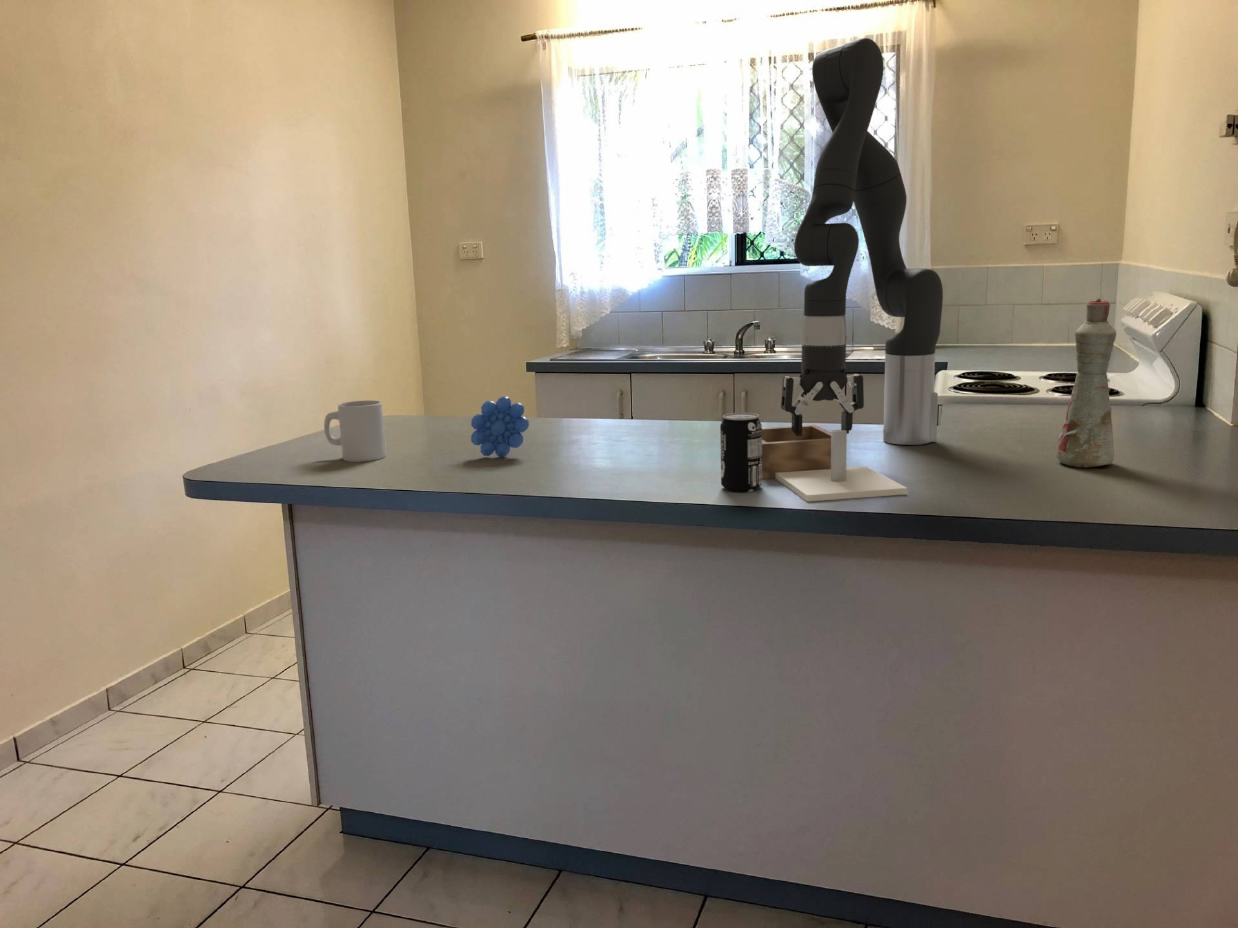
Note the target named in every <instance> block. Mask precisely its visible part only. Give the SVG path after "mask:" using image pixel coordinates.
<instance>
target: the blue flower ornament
mask: <svg viewBox="0 0 1238 928" xmlns="http://www.w3.org/2000/svg"><path fill="white" fill-rule="evenodd" d="M480 410H481V411H480V413H477V414H475V415H474V416H473V417H472V418H471V420H470V422H471V423H470V424H471V427H472V429H474V431H473V432H472V433H471V436H470V441H471V443H472V444H473V445H474V446H480V453H481V454H482V455H483V456H485V457H491V455H493V454H494V453H495V454H496V456H497V457H499V458H504V457H507V456H508V455H509V453H510V451H511V449H512V448H513V449H517V448H519V447H521V446H522V444H523V443H524V435H523V433H524V432H526V431H527V430H528V429H529V424H530V422H529V420H528V418H527V417H525V416H523V414H525V407H524V405H523V404H522V403H521V402H514V403H512V400H511V399H510V397H509V396H505V395H503V396H500V397H499V398H498V399H497V401H496V403H495V402H494V401H493V400H486V401H485V402H484V403H483V404H482V405H481V407H480Z"/></svg>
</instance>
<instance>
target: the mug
mask: <svg viewBox="0 0 1238 928" xmlns="http://www.w3.org/2000/svg"><path fill="white" fill-rule="evenodd" d="M337 406H338V407H337V410H336V411H331V412H329V413H327V414H326V415H325V418H324V422H323V423H324V424H323V426H324V427H323V428H324V429H323V430H324V435H325V438H326V440H327V442H328V443H329V444H330V445H333V446H337V447H338V446H341V453H342V454H341V455H342V459H343V461H345V462H351V463H360V462H361V463H363V462H372V461H377V460H381V459H384V458H385V457H387V448H386V447H387V445H386V435H385V425H384V416H383V414H384V413H383V403H382V401H380V400H356V401H353V400H352V401H347V402H341V403H339V404H338V405H337ZM332 420H337V421H338V422H339V423H338V424H339V431H340V437H335V436H333V435H332V432H331V427H330V426H331V425H330V424H331V421H332Z"/></svg>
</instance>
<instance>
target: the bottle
mask: <svg viewBox="0 0 1238 928" xmlns="http://www.w3.org/2000/svg"><path fill="white" fill-rule="evenodd" d="M1085 305H1086V316H1085V317H1086V320H1085V321H1084V323H1083V324H1081V325H1080V326H1079V327H1078V328H1077V329H1076V330H1075V332H1074V338H1075V350H1076V354H1075V355H1076V369H1077V372H1076V375H1075V381H1074V383H1073V386H1072V390H1071V391H1072V392H1071V395H1070V398H1069V399H1070V400H1069V402H1068V406H1067V410H1066V413H1065V418H1064V421H1063V424H1062V427H1061V433H1060V434H1059V437H1058V447H1057V450H1056V458H1057V460H1058V462H1059V463H1060V464H1063V465H1065V466H1068V467H1069V466H1071V467H1075V468H1095V467H1101V466H1108V465H1111V464H1112V463H1113V462H1114V459H1115V446H1114V445H1115V443H1114V431H1113V421H1112V412H1113V411H1112V410H1113V409H1112V406H1111V402H1110V392H1109V381H1108V380H1109V379H1108V373H1107V372H1108V369H1109V365H1110V364H1109V363H1110V361H1111V358H1112V352H1113V348H1114V343H1115V341H1116V337H1117V330H1116V329H1115V328H1114V327H1113V326H1112V325H1111V324H1110V322H1109V321H1108V318H1109V314H1110V308H1111V307H1110V306H1111V304H1110V302H1109V301H1108V300H1104V301H1103V300H1102V299H1101V298H1096V300H1088V301H1087V303H1086V304H1085Z"/></svg>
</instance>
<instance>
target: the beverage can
mask: <svg viewBox="0 0 1238 928" xmlns="http://www.w3.org/2000/svg"><path fill="white" fill-rule="evenodd" d="M722 418H723V419H722V422H721V423H720V426H719V427H720V432H719V433H720V435H719V436H720V483H721V486H722V487H723V489H724V490H726V491H727V492H733V493H749V492H751V493H752V492H754V491H757V490H759V489H760V487H761V486H762V484H763V479H762V428H763V425H762V423H761V420H760V415H759V414H758V413H755V412H731V413H729V412H728V413H725V414H723V415H722Z"/></svg>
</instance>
